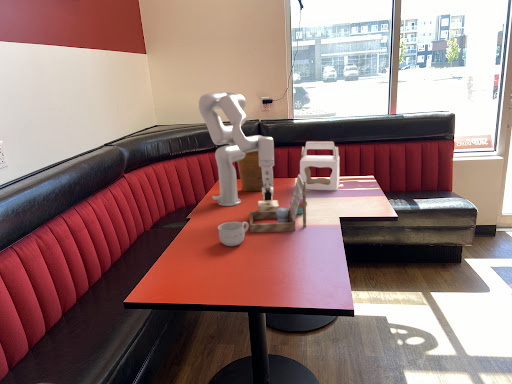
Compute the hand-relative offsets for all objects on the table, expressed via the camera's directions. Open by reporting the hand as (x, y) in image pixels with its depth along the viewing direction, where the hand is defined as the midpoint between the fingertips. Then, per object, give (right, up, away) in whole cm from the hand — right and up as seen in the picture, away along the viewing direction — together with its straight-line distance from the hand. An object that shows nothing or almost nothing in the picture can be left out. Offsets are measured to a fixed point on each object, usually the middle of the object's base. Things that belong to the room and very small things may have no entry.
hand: (267, 197), depth 192 cm
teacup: (-14, -18, -31) cm, 39 cm away
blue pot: (+6, -11, -12) cm, 18 cm away
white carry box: (+33, +6, +44) cm, 56 cm away
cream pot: (0, -1, 0) cm, 1 cm away
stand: (0, -8, +2) cm, 8 cm away
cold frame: (+4, -12, -13) cm, 18 cm away
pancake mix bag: (-7, +4, +44) cm, 44 cm away
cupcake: (+15, -7, +1) cm, 17 cm away
